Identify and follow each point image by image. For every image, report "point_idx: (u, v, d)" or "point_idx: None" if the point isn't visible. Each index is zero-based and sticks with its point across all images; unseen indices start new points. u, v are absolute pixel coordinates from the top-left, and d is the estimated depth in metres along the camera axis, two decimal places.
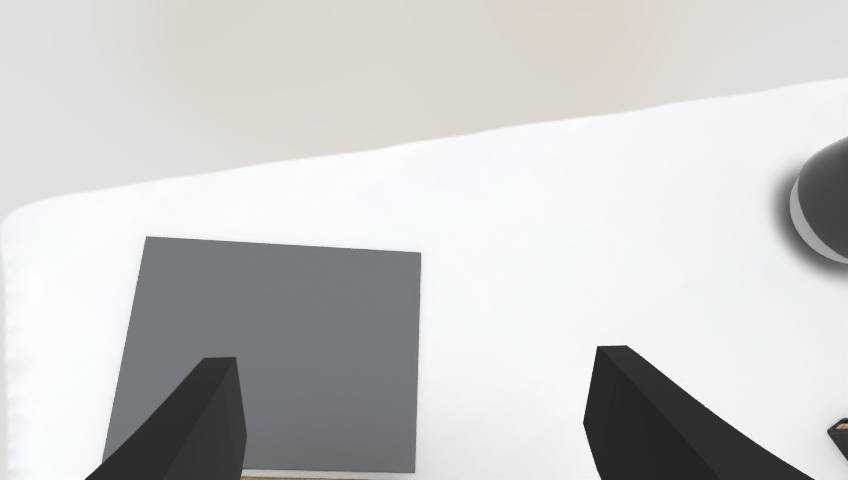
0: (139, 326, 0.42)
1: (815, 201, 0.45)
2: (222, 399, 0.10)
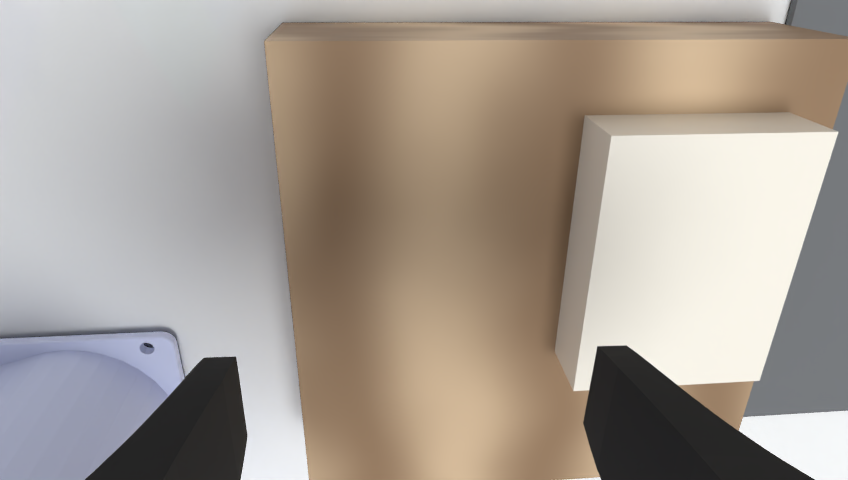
0: None
1: None
2: (222, 399, 0.10)
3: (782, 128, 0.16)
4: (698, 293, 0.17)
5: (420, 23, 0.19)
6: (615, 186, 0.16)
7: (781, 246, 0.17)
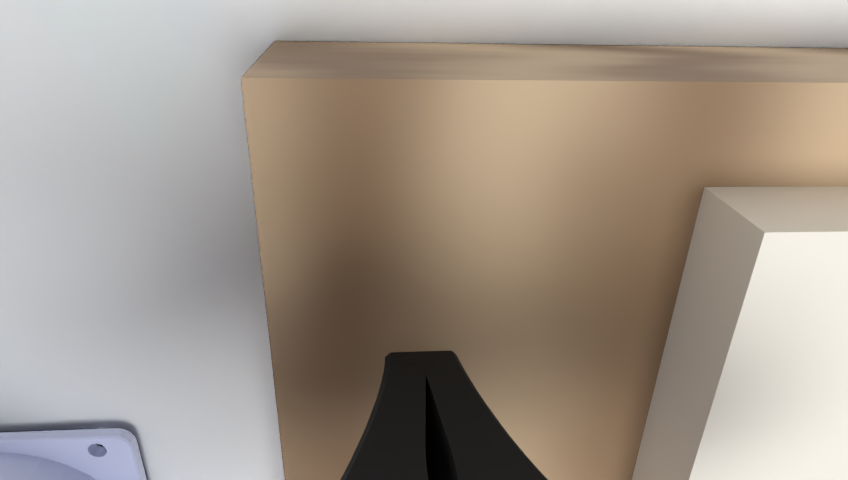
0: None
1: None
2: None
3: None
4: None
5: (463, 45, 0.14)
6: (759, 302, 0.10)
7: None
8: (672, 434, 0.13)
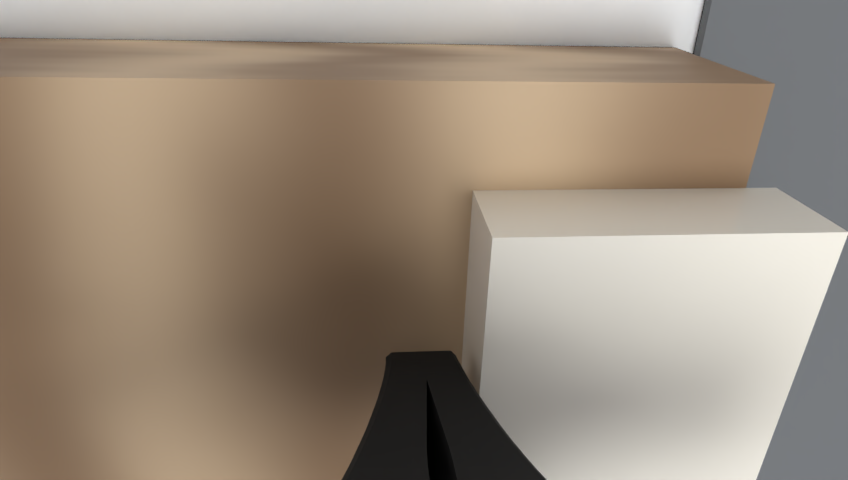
0: None
1: None
2: None
3: (762, 222, 0.10)
4: (638, 447, 0.12)
5: (162, 42, 0.13)
6: (503, 309, 0.10)
7: (760, 387, 0.11)
8: None
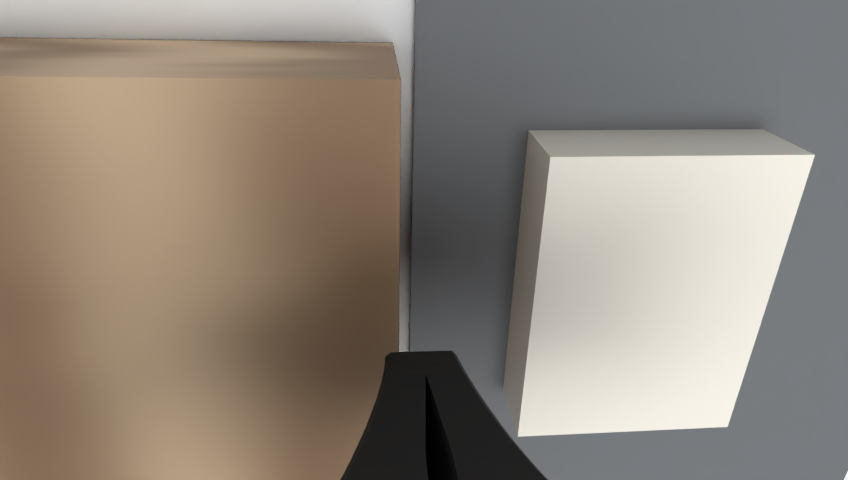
0: None
1: None
2: None
3: (583, 135, 0.14)
4: None
5: None
6: None
7: None
8: None
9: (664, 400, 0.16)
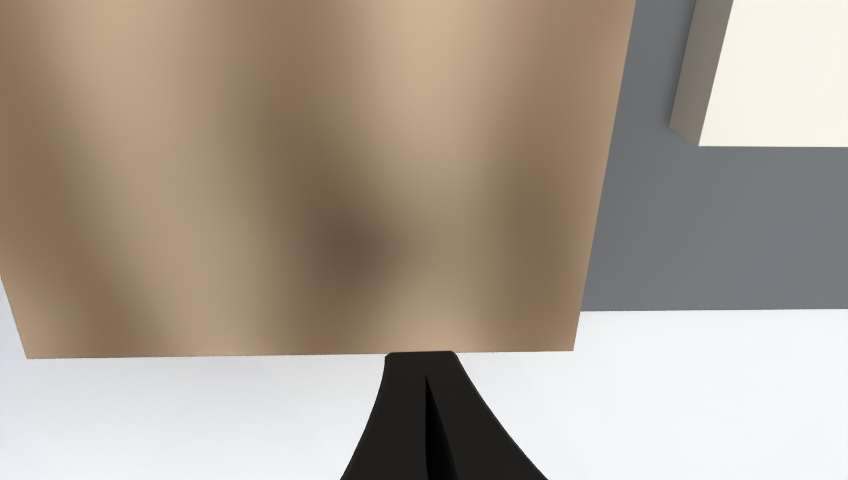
0: None
1: None
2: None
3: None
4: None
5: None
6: None
7: None
8: None
9: (838, 111, 0.17)
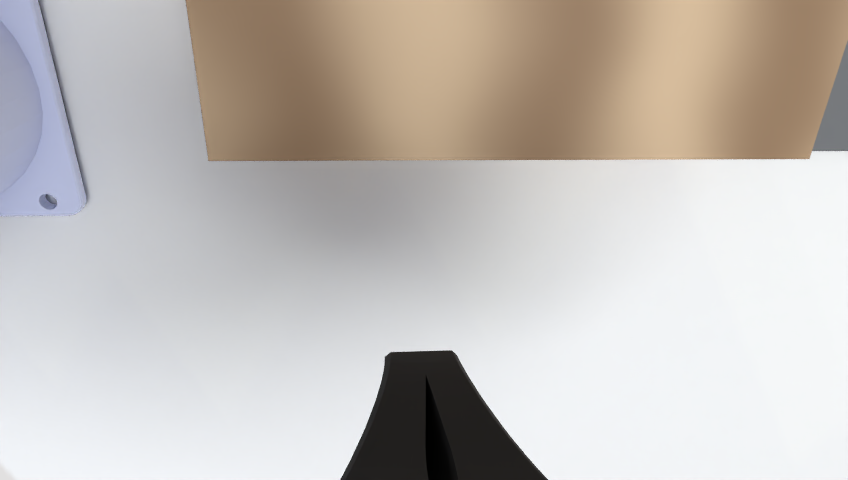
0: None
1: None
2: None
3: None
4: None
5: None
6: None
7: None
8: None
9: None
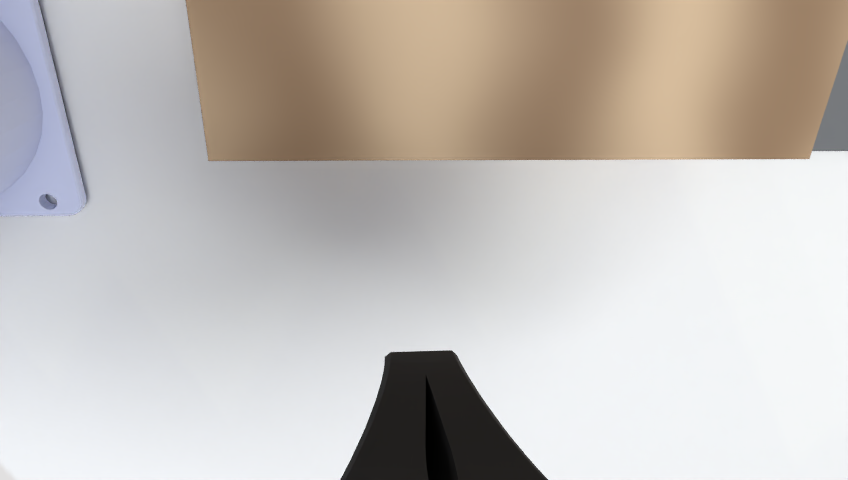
0: None
1: None
2: None
3: None
4: None
5: None
6: None
7: None
8: None
9: None
